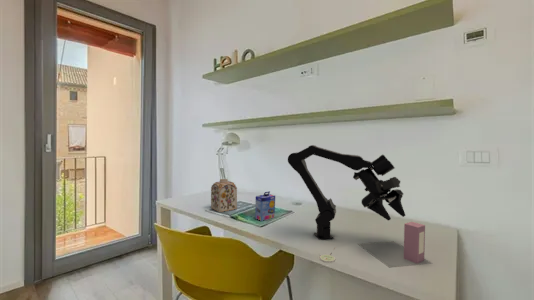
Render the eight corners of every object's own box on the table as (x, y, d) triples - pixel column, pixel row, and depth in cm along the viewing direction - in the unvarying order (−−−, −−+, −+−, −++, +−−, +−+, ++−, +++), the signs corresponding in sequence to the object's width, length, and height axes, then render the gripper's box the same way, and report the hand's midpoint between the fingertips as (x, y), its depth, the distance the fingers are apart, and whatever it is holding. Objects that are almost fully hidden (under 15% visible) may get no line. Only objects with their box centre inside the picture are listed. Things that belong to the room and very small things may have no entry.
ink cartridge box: (261, 221, 126) (261, 193, 126) (254, 219, 131) (254, 191, 130) (275, 218, 133) (275, 190, 133) (268, 215, 137) (268, 189, 137)
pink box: (403, 258, 86) (404, 223, 86) (410, 255, 89) (411, 221, 88) (417, 263, 82) (418, 227, 82) (424, 260, 85) (425, 225, 84)
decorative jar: (210, 208, 152) (210, 178, 151) (227, 205, 159) (227, 177, 158) (219, 212, 142) (219, 181, 142) (237, 209, 149) (237, 179, 149)
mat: (357, 244, 98) (357, 243, 98) (393, 241, 101) (393, 240, 101) (389, 268, 80) (389, 267, 80) (432, 264, 83) (432, 263, 83)
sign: (343, 246, 96) (333, 262, 83) (343, 249, 96) (333, 265, 83) (329, 244, 98) (317, 259, 85) (329, 246, 98) (317, 261, 85)
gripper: (370, 170, 89) (399, 209, 80) (399, 168, 99) (428, 203, 90) (350, 188, 96) (375, 226, 87) (380, 185, 106) (405, 218, 97)
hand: (397, 218), depth 90 cm, fingers open, 9 cm apart
